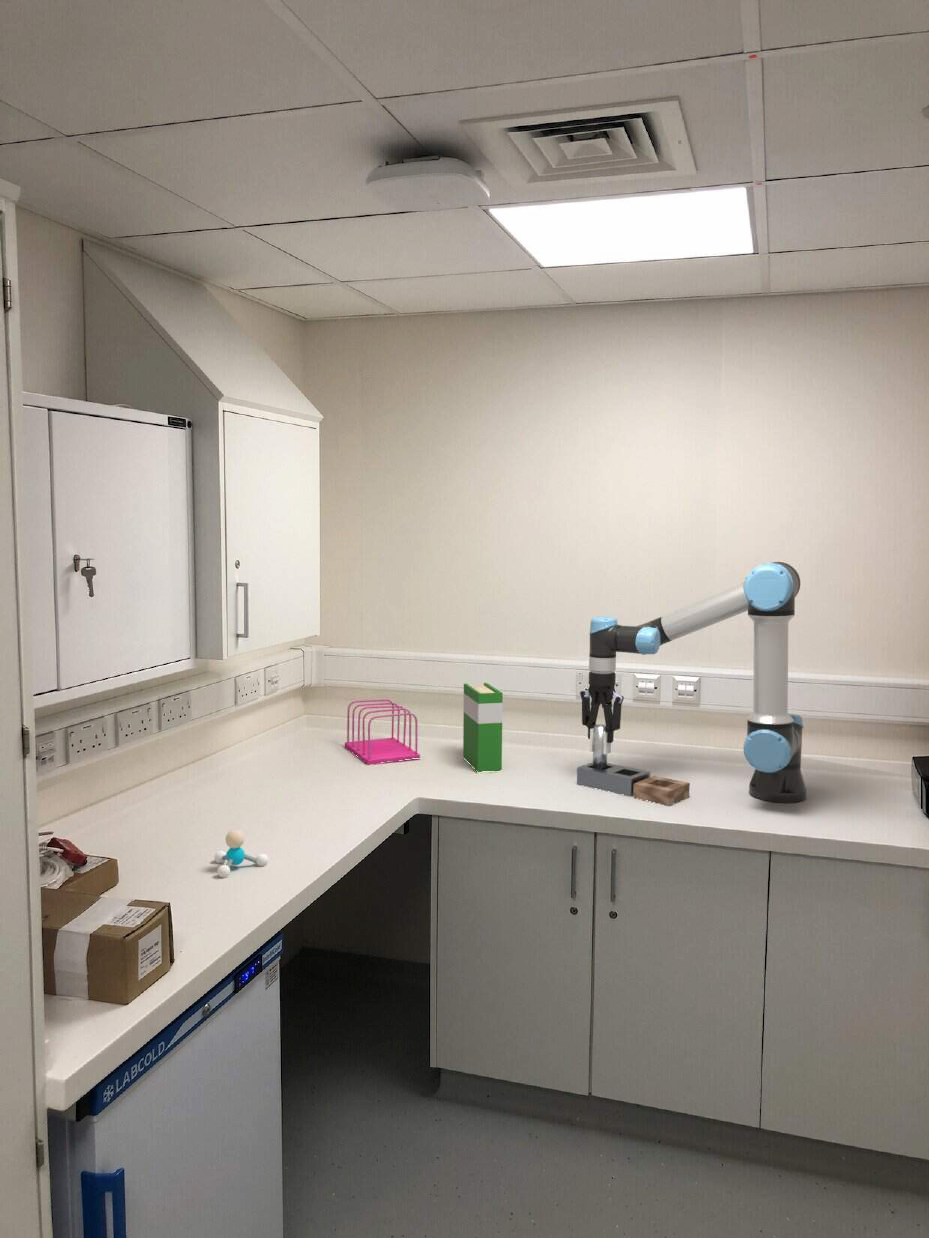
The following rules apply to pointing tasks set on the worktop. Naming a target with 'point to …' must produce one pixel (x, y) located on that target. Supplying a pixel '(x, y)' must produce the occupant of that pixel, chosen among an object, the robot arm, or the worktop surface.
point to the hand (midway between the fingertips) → (600, 751)
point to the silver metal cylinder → (599, 748)
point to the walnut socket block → (661, 790)
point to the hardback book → (483, 727)
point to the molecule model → (235, 854)
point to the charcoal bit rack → (611, 778)
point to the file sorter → (384, 747)
